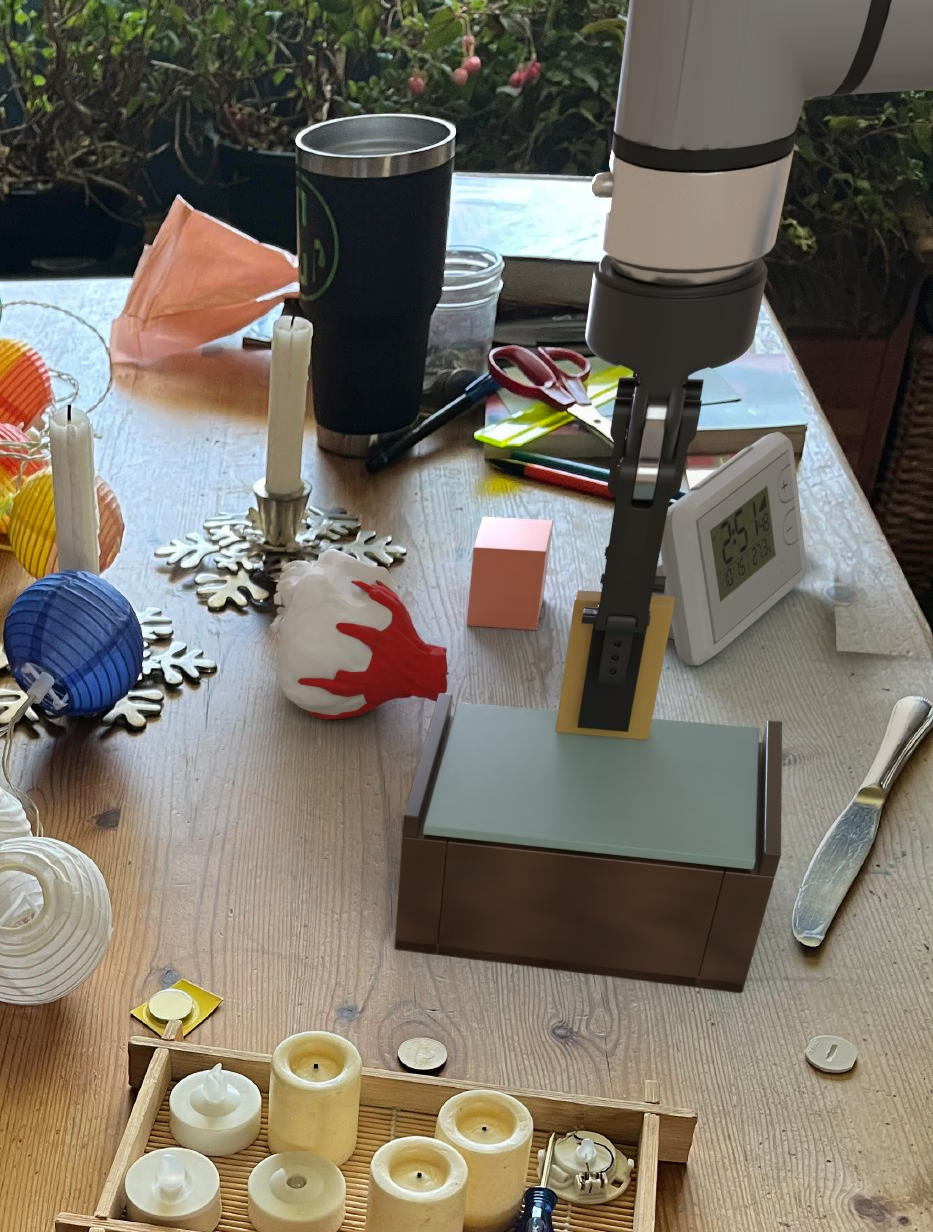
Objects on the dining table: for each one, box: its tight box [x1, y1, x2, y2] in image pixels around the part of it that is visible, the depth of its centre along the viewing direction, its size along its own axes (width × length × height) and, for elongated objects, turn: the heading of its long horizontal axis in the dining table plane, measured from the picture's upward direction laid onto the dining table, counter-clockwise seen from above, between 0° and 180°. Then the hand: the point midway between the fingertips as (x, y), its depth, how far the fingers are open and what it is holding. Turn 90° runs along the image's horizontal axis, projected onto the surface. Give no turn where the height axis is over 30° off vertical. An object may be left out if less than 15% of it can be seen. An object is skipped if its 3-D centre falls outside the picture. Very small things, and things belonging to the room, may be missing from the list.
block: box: [466, 516, 554, 631], centre depth 113 cm, size 5×5×6 cm
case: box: [394, 693, 783, 994], centre depth 87 cm, size 19×13×9 cm
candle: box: [269, 548, 450, 720], centre depth 105 cm, size 9×11×15 cm
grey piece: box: [423, 589, 760, 869], centre depth 82 cm, size 17×13×9 cm
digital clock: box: [652, 431, 807, 666], centre depth 108 cm, size 16×9×11 cm, turn 126°
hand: (604, 716), depth 87 cm, fingers closed on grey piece
